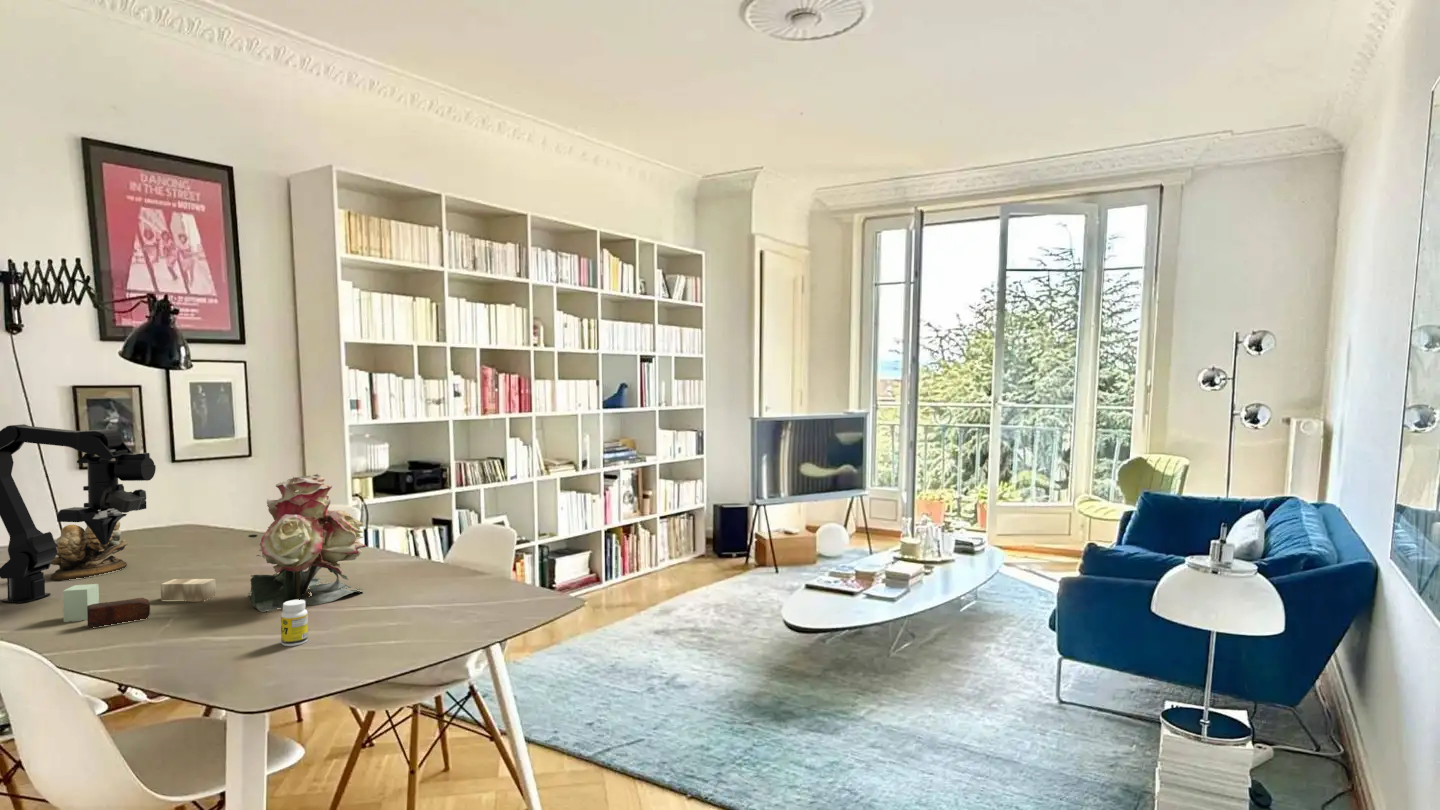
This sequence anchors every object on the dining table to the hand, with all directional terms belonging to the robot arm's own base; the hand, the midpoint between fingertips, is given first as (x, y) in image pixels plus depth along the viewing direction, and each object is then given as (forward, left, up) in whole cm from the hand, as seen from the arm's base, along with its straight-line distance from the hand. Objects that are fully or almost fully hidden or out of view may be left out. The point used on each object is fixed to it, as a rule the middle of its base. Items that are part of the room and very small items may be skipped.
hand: (104, 544), depth 181 cm
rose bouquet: (+47, +8, -13) cm, 50 cm away
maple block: (+16, 0, -11) cm, 20 cm away
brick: (+20, -17, -13) cm, 29 cm away
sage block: (+9, -15, -13) cm, 22 cm away
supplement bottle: (+66, -24, -13) cm, 71 cm away
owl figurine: (-24, +20, -13) cm, 34 cm away
